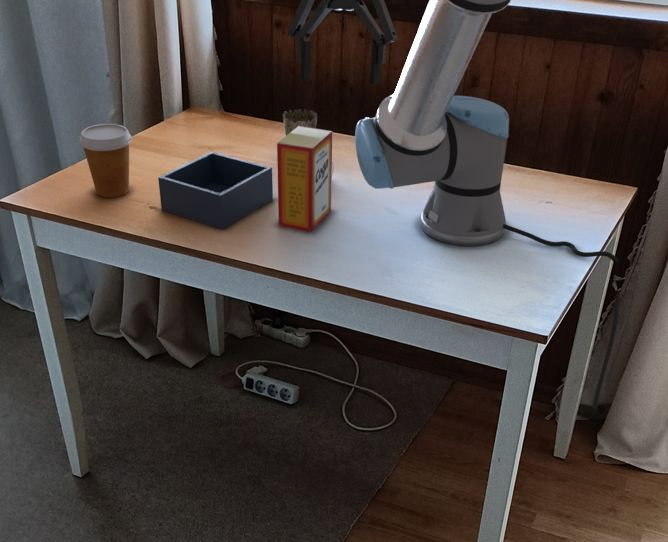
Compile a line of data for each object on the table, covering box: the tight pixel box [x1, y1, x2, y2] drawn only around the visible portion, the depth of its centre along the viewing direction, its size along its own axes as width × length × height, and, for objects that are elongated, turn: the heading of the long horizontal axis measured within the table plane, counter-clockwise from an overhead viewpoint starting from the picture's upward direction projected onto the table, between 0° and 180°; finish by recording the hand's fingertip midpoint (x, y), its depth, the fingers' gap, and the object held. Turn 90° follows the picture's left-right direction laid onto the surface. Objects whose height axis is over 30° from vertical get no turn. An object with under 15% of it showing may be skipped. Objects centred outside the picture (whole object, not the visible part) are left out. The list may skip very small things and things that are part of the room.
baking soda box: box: [276, 126, 333, 233], centre depth 154 cm, size 10×6×16 cm
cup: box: [282, 108, 318, 136], centre depth 184 cm, size 8×7×8 cm
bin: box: [157, 151, 274, 230], centre depth 161 cm, size 15×16×7 cm
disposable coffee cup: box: [79, 123, 132, 198], centre depth 164 cm, size 10×10×12 cm
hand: (339, 81), depth 154 cm, fingers open, 13 cm apart
